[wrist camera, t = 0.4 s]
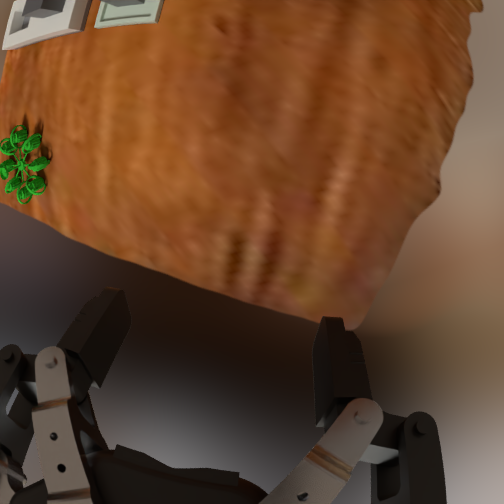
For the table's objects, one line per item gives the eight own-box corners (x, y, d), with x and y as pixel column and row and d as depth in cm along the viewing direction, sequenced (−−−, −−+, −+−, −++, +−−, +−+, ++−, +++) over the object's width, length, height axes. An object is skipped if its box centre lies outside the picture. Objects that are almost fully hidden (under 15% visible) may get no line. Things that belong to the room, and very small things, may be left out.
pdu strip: (27, 3, 20) (-5, 0, 13) (98, -22, 21) (65, -36, 13) (16, 49, 25) (-19, 51, 18) (83, 31, 26) (45, 25, 18)
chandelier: (13, 197, 41) (-9, 211, 35) (5, 127, 34) (-20, 136, 28) (58, 200, 41) (34, 216, 35) (52, 118, 33) (24, 126, 28)
